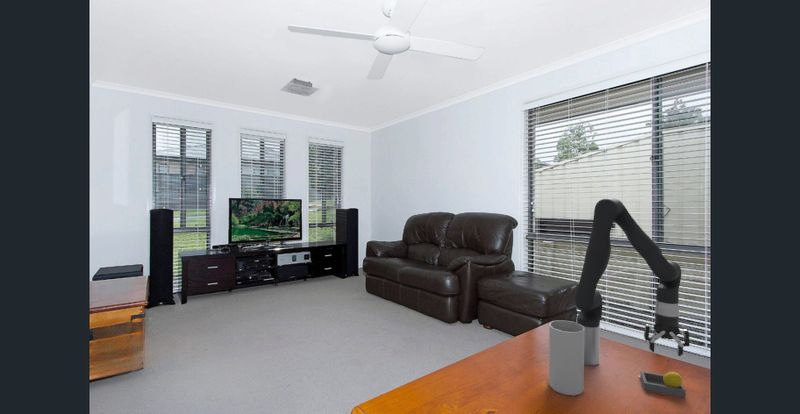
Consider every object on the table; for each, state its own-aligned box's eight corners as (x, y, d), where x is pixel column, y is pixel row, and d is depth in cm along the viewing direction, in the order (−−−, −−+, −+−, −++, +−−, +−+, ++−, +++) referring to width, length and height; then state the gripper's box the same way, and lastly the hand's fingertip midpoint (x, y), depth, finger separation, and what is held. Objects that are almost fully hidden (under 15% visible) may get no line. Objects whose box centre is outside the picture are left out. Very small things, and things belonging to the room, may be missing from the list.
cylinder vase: (568, 400, 139) (569, 334, 138) (542, 384, 150) (542, 323, 149) (590, 391, 145) (591, 328, 143) (563, 376, 156) (563, 318, 155)
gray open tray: (644, 390, 145) (644, 382, 145) (640, 378, 154) (640, 371, 154) (685, 398, 139) (685, 390, 139) (678, 385, 148) (679, 377, 148)
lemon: (675, 394, 143) (687, 385, 138) (659, 388, 145) (671, 378, 140) (673, 381, 147) (685, 372, 142) (658, 375, 149) (669, 366, 144)
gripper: (646, 313, 144) (645, 353, 145) (692, 318, 138) (690, 361, 139) (643, 307, 151) (642, 346, 152) (687, 312, 144) (685, 352, 145)
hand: (665, 353), depth 145 cm, fingers open, 8 cm apart
